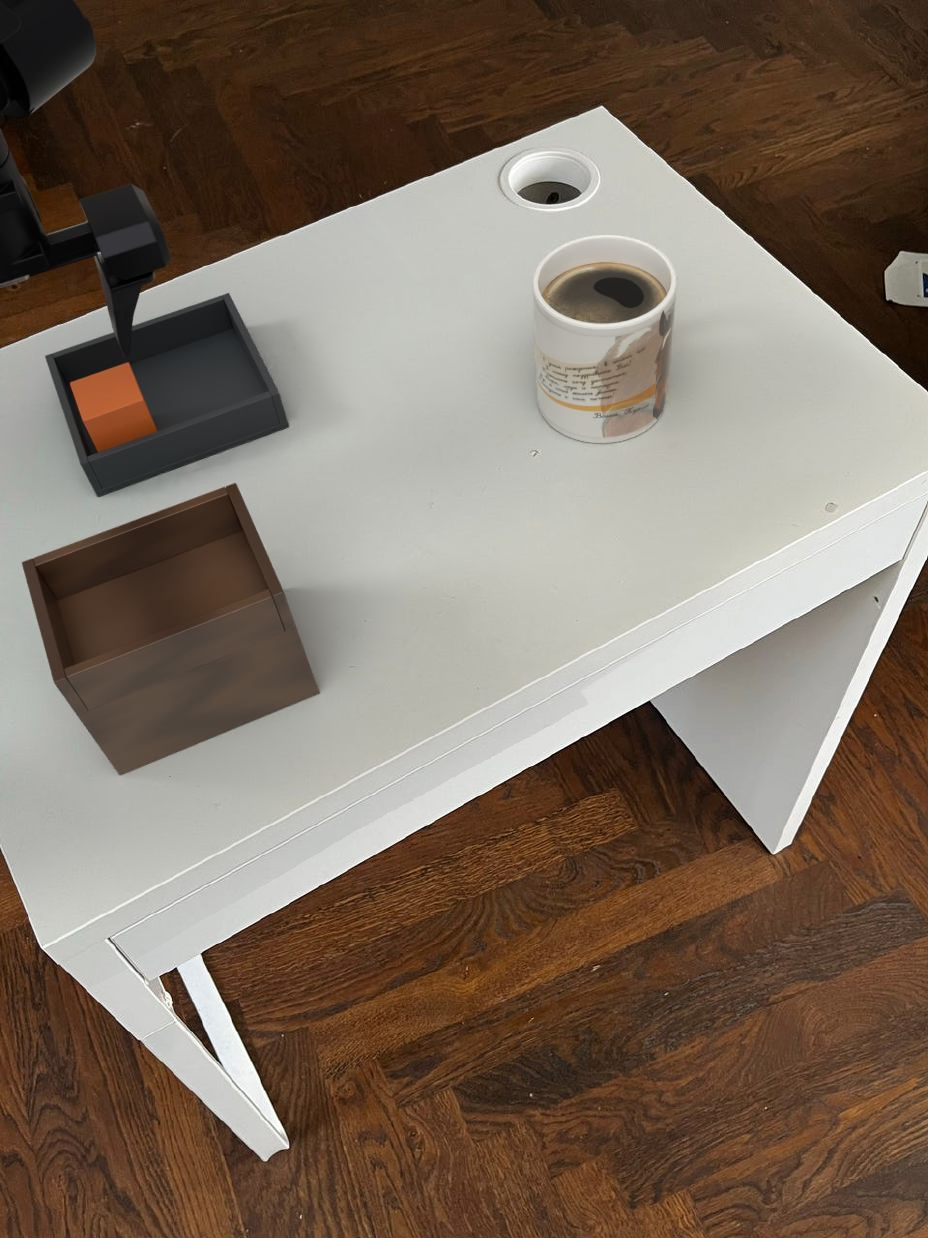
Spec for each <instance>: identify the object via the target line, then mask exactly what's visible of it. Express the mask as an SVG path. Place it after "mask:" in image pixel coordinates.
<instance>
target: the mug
mask: <svg viewBox="0 0 928 1238" xmlns="http://www.w3.org/2000/svg"><path fill="white" fill-rule="evenodd" d="M531 286H532V312H533V335H534V356H535V359H534V360H535V361H534V362H535V377H536V378H535V381H536V400H537V406H538V408H539V413H540V414H541V416H542V418H544V420H545V421H546V422H547V424H548V425H549V426H551V427H552V428H553V429H554V430H556V431H557V432H558V433H560V434H562V435H564V436H566V437H568V438H570V439H573V440H575V441H576V440H577V441H580V442H585V443H590V444H591V443H592V444H612V443H618V442H622V441H626V440H630V439H633V438H635V437H637V436H639V435H642V434H643V433H645V432H646V431H647V430H649V429H650V428H651V427H652V426H654V425H655V424H656V423H657V421H658V420H659V419H660V417H661V416H662V415H663V413H664V411H665V409H666V407H667V402H668V397H669V395H668V393H669V383H670V374H671V373H670V372H671V360H672V349H673V348H672V347H673V335H674V326H675V315H676V314H675V312H676V301H677V290H678V275H677V271H676V269H675V267H674V264H673V263H672V261H671V259H670V258H669V257H668V256H667V255H666V254H665V253H664V252H663V251H662V250H661V249H659V248H658V247H656V246H654V245H653V244H651V243H649V242H646V241H644V240H642V239H638V238H636V237H632V236H626V235H622V234H621V235H620V234H595V235H588V236H583V237H579V238H575V239H572V240H569V241H567V242H564V243H562V244H560V245H558V247H555V248H554V249H552V250H551V251H549V252H548V253H547V254H546V255H545V256H544V257H543V258H542V259H541V260H540V262H539V264H538V265H537V267H536V268H535V271H534V273H533V276H532V284H531Z"/></svg>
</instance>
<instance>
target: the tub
mask: <svg viewBox="0 0 928 1238" xmlns="http://www.w3.org/2000/svg"><path fill="white" fill-rule="evenodd" d="M44 359H45V361H46V364H47V368H48V370H49V373H50V376H51V379H52V383H53V385H54V388H55V391H56V394H57V398H58V400H59V403H60V406H61V410H62V413H63V416H64V418H65V422H66V425H67V428H68V430H69V434H70V437H71V440H72V444H73V446H74V449H75V453H76V455H77V457H78V461H79V464H80V466H81V468H82V470H83V472H84V474H85V476H86V478H87V480H88V482H89V483H90V485H91V487H92V490H93V491H94V493H95V495H96V497H97V498H100V497H102V496H105V495H107V494H110V493H113V492H116V491H119V490H122V489H124V488H126V487H129V486H133V485H134V484H137V483H140V482H143V481H145V480H148V479H152V478H153V477H157V476H159V475H162V474H164V473H167V472H170V471H173V470H175V469H178V468H181V467H184V466H187V465H189V464H192V463H195V462H197V461H200V460H203V459H205V458H208V457H211V456H215V455H216V454H219V453H222V452H225V451H228V450H230V449H233V448H236V447H238V446H241V445H244V444H246V443H247V444H248V443H250V442H252V441H255V440H257V439H261V438H263V437H266V436H269V435H271V434H274V433H276V432H279V431H282V430H285V429H287V428H289V427H290V426H289V425H290V424H289V422H288V418H287V414H286V410H285V407H284V405H283V404H284V403H283V401H282V397H281V394H280V391H279V390H278V387H277V385H276V383H275V381H274V380H273V377H272V375H271V373H270V371H269V370H268V367H267V366H266V364H265V361H264V359H263V357H262V356H261V354H260V352H259V350H258V347H257V345H256V344H255V342H254V340H253V337H252V335H251V333H250V332H249V329H248V328H247V326H246V323H245V322H244V320H243V317H242V316H241V313H240V312H239V310H238V307H237V306H236V304H235V302H234V300H233V298H232V296H231V294H230V292H227V293H223V294H222V295H218V296H215V297H213V298H209V299H206V300H204V301H201V302H198V303H194V304H192V305H189V306H186V307H183V308H180V309H177V310H175V311H172V312H169V313H165V314H162V315H160V316H157V317H154V318H151V319H149V320H145V321H143V322H139V323H137V324H132V335H131V345H130V354H129V355H128V356H125V357H124V356H123V354H122V351H121V349H120V346H119V344H118V341H117V339H116V336H115V334H114V331H113V332H110V333H107V334H104V335H102V336H99V337H96V338H93V339H90V340H87V341H84V342H81V343H78V344H75V345H72V346H70V347H67V348H64V349H60V350H57V351H55V352H52V353H49V354H46V355H44ZM127 362H129V364H130V366H131V368H132V371H133V373H134V376H135V378H136V380H137V383H138V385H139V387H140V390H141V392H142V394H143V397H144V399H145V402H146V404H147V406H148V409H149V411H150V413H151V416H152V418H153V421H154V423H155V426H156V428H157V432H154V433H151V434H148V435H146V436H143V437H140V438H137V439H135V440H132V441H129V442H126V443H123V444H121V445H118V446H115V447H112V448H110V449H107V450H104V451H101V452H98V451H97V449H96V447H95V445H94V443H93V441H92V438H91V436H90V434H89V432H88V430H87V428H86V426H85V424H84V422H83V420H82V417H81V414H80V411H79V408H78V405H77V402H76V400H75V397H74V394H73V391H72V388H71V385H70V382H73V381H76V380H79V379H82V378H85V377H87V376H90V375H93V374H96V373H99V372H102V371H105V370H107V369H110V368H113V367H116V366H119V365H122V364H125V363H127Z"/></svg>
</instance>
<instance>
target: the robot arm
mask: <svg viewBox="0 0 928 1238" xmlns="http://www.w3.org/2000/svg"><path fill="white" fill-rule="evenodd" d="M96 56H97V41H96V36H95V32H94V29H93V26H92V24H91V21H90V19H89V18H88V17H86V16H85V15H84V14H83V12H82V10H81V9H80V7H79V5H78V4H77V3H76V2H75V0H0V114H2V115H5V116H6V117H10V118H12V119H25V118H26V117H29V116H31V114H33V113H34V112H36V111H37V110H38V109H39V108H41V107H42V106H43V105H44V104H45V103H47V102H48V101H49V100H50V99H51V98H52V97H54V96H55V95H56V94H58V93H59V92H60V91H61V90H63V88H65V87H66V86H68V85H69V84H70V83H72V81H74V80H75V79H76V78H77V77H79V76H80V75H81V74H83V73H84V72H85V71H86V70H88V68H90V67H91V65H92V64H93V63H94V61H95V59H96ZM78 201H79V203H80V206H81V209H82V212H83V214H84V216H85V219H86V220H85V221H84V222H82V223H78V224H76V225H72V226H69V227H68V226H67V227H65V228H62V229H59V230H56V231H52V232H49V233H46V231H45V229H44V227H43V224H42V223H43V220H42V217H41V215H40V212H39V210H38V207H37V205H36V203H35V200H34V198H33V195H32V193H31V191H30V188H29V186H28V184H27V181H26V179H25V178H24V177H23V175H21V173H20V170H19V168H18V166H17V163H16V161H15V159H14V156H13V154H12V152H11V150H10V147H9V145H8V143H7V140H6V138H5V136H4V133H3V130H2V129H1V128H0V289H4V288H6V287H9V286H13V285H16V284H19V283H22V282H25V281H27V280H29V279H30V278H31V277H33V276H37V275H40V274H43V273H47V272H49V271H53V270H56V269H59V268H63V267H65V266H66V267H67V266H68V265H73V264H75V263H78V262H81V261H84V260H87V259H91V258H93V259H94V261H95V264H96V268H97V271H98V275H99V280H100V283H101V288H102V291H103V296H104V299H105V303H106V308H107V312H108V316H109V319H110V324H111V328H112V331H113V332H114V334H115V336H116V339H117V341H118V344H119V346H120V349H121V351H122V354H123V356H124V357H125V356H128V355H129V354H130V345H131V335H132V326H133V325H134V318H135V317H134V316H135V313H136V309H137V305H138V301H139V297H140V295H141V291H142V287H144V286H145V285H149V284H150V283H152V282H153V281H154V280H155V278H156V275H155V271H158V270H161V269H164V268H166V267H167V266H168V265H169V264H170V262H171V261H172V259H173V258H172V255H171V253H170V249H169V246H168V244H167V240H166V238H165V235H164V232H163V229H162V226H161V224H160V222H159V220H158V218H157V216H156V213H155V211H154V209H153V208H152V206H151V204H150V203H151V202H149V199H148V197H147V195H146V193H145V190H143V189H141V188H139V187H138V186H136V185H135V184H133V183H129V184H126V185H122V186H119V187H115V188H113V189H110V190H106V191H103V192H100V193H97V194H94V195H90V196H86V197H84V198H81V199H78Z"/></svg>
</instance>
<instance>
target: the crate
mask: <svg viewBox="0 0 928 1238" xmlns="http://www.w3.org/2000/svg"><path fill="white" fill-rule="evenodd" d="M21 565H22V570H23V572H24V576H25V577H24V578H25V579H26V584H27V588H28V592H29V595H30V599H31V602H32V606H33V610H34V615H35V618H36V620H37V621H36V622H37V625H38V629H39V633H40V636H41V640H42V643H43V648H44V651H45V655H46V658H47V662H48V666H49V670H50V674H51V677H52V681H53V684H54V685H55V686H56V688H57V689H58V691H59V692H60V694H61V695H62V697H63V698H64V700H65V701H66V702H67V704H68V705H69V706H70V708H71V710H72V711H73V713H74V714H75V715H76V716H77V718H78V719H79V720H80V722H81V723H82V725H83V726H84V727H85V729H86V730H87V732H88V733H89V735H90V736H91V737H92V739H93V740H94V742H95V743H96V744H97V746H98V748H99V749H100V750H101V751H102V753H103V754H104V756H105V757H106V758H107V760H108V762H109V763H110V764H111V765H112V767H113V769H114V770H115V771H116V773H117V774H118V776H122V775H124V774H127V773H129V772H132V771H134V770H136V769H139V768H141V767H144V766H146V765H148V764H151V763H154V762H156V761H159V760H160V759H163V758H165V757H168V756H170V755H174V754H175V753H178V752H181V751H183V750H186V749H188V748H190V747H193V746H195V745H198V744H199V743H202V742H205V741H207V740H209V739H212V738H214V737H216V736H219V735H222V734H224V733H227V732H229V731H232V730H234V729H237V728H239V727H241V726H244V725H246V724H249V723H251V722H254V721H255V720H258V719H260V718H263V717H266V716H268V715H271V714H273V713H275V712H278V711H281V710H282V709H285V708H288V707H290V706H293V705H295V704H298V703H299V702H302V701H305V700H307V699H309V698H312V697H314V696H317V695H319V694H320V690H319V686H318V683H317V681H316V679H315V678H316V677H315V675H314V673H313V669H312V667H311V664H310V660H309V659H308V656H307V652H306V650H305V647H304V644H303V641H302V639H301V636H300V633H299V630H298V627H297V625H296V622H295V619H294V616H293V613H292V610H291V608H290V604H289V602H288V599H287V596H286V593H285V591H284V588H283V586H282V584H281V582H280V580H279V577H278V574H277V573H276V570H275V568H274V566H273V563H272V561H271V558H270V556H269V555H268V553H267V549H266V547H265V545H264V543H263V541H262V539H261V536H260V534H259V531H258V529H257V527H256V525H255V523H254V520H253V518H252V515H251V513H250V511H249V509H248V506H247V503H246V502H245V499H244V497H243V495H242V492H241V491H240V488H239V486H238V483H237V482H234V483H230V484H229V485H226V486H223V487H220V488H217V489H215V490H212V491H209V492H207V493H204V494H201V495H198V496H196V497H193V498H190V499H188V500H185V501H181V502H180V503H177V504H174V505H172V506H169V507H166V508H163V509H160V510H158V511H156V512H153V513H150V514H147V515H144V516H142V517H139V518H136V519H134V520H132V521H129V522H125V523H123V524H121V525H117V526H116V527H112V528H109V529H107V530H105V531H102V532H99V533H96V534H93V535H91V536H88V537H86V538H83V539H80V540H77V541H75V542H72V543H69V544H67V545H64V546H61V547H59V548H56V549H54V550H51V551H48V552H45V553H42V554H40V555H37V556H35V557H32V558H30V559H27V560H24V561H21Z"/></svg>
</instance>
